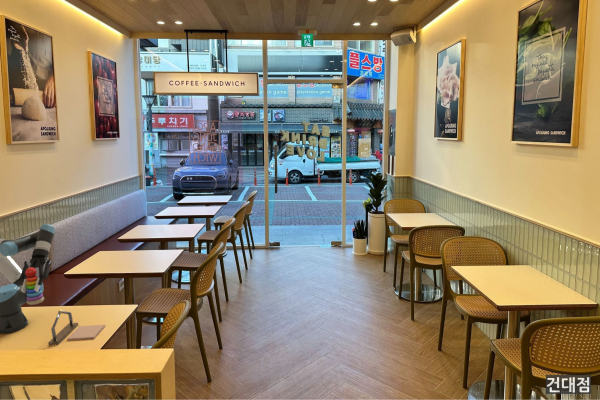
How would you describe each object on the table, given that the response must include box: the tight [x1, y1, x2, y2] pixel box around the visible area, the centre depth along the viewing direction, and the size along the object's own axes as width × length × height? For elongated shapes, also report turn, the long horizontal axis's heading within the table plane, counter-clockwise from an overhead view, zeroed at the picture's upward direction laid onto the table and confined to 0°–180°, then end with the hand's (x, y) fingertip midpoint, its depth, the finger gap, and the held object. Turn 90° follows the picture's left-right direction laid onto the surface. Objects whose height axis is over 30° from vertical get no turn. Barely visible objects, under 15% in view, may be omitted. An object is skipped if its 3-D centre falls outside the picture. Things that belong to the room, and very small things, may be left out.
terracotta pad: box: [66, 324, 106, 341], centre depth 246 cm, size 14×14×1 cm
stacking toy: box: [25, 266, 45, 306], centre depth 240 cm, size 8×8×19 cm
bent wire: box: [47, 309, 79, 346], centre depth 244 cm, size 22×5×14 cm, turn 1°
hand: (29, 291), depth 237 cm, fingers closed on stacking toy, 6 cm apart
